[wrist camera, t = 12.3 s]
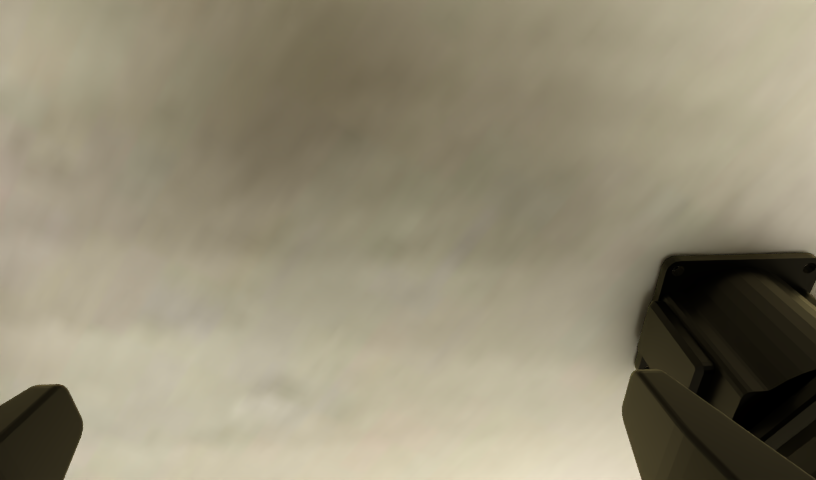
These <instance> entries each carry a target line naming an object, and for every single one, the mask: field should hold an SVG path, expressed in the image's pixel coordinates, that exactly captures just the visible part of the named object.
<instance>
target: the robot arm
mask: <svg viewBox="0 0 816 480" xmlns="http://www.w3.org/2000/svg"><path fill="white" fill-rule="evenodd" d="M807 264H808V265H807ZM806 265H807V266H806ZM677 266H679V268H678V269H677V270H675V271H672V270H673V269H674V268H675V267H677ZM815 281H816V257H815V256H814V255H813V254H810V253H782V254H738V255H693V256H673V257H670V258H668V259H667V260H666V261H665V262H664V263H663V265H662V267H661V271H660V274H659V278H658V282H657V285H656V289H655V292H654V296H653V300H652V302H651V303H650V305H649V306H648V309H647V313H646V317H645V320H644V324H643V328H642V331H641V335H640V339H639V342H638V346H637V348H638V354H637V357H636V361H635V368H636V370H635V371H634V372H633V373H632V374H631V376H630V379H629V383H628V387H627V390H626V394H625V398H624V401H623V405H622V416H623V421H624V425H625V428H626V431H627V434H628V438H629V441H630V444H631V447H632V450H633V454H634V457H635V460H636V463H637V467H638V470H639V473H640V476H641V479H642V480H816V298H815V297H814V296H812V295H811V294H810V291H811V289H812V287H813V285H814V283H815ZM647 366H648V367H647ZM82 431H83V421H82V417H81V415H80V413H79V411H78V409H77V407H76V405H75V403H74V401H73V399H72V397H71V395H70V393H69V391H68V389H67V388H66V387H65V386H63V385H60V384H49V385H35V386H32V387H30V388H28V389H27V390H25V391H23V392H22V393H20V394H19V395H17V396H15V397H14V398H12V399H10V400H9V401H7V402H5V403H4V404H2V405H0V480H64V478H65V475H66V473H67V470H68V468H69V465H70V463H71V460H72V458H73V455H74V453H75V450H76V448H77V445H78V443H79V440H80V438H81V435H82Z"/></svg>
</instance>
